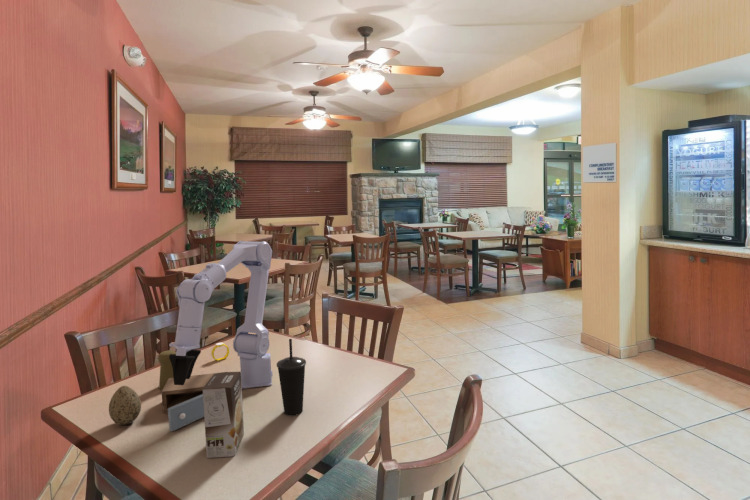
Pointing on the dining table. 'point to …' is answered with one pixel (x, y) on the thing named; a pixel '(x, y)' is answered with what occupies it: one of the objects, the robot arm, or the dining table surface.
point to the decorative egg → (124, 406)
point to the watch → (220, 346)
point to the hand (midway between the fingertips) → (182, 381)
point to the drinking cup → (292, 382)
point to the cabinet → (183, 390)
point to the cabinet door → (185, 412)
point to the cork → (165, 367)
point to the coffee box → (223, 414)
